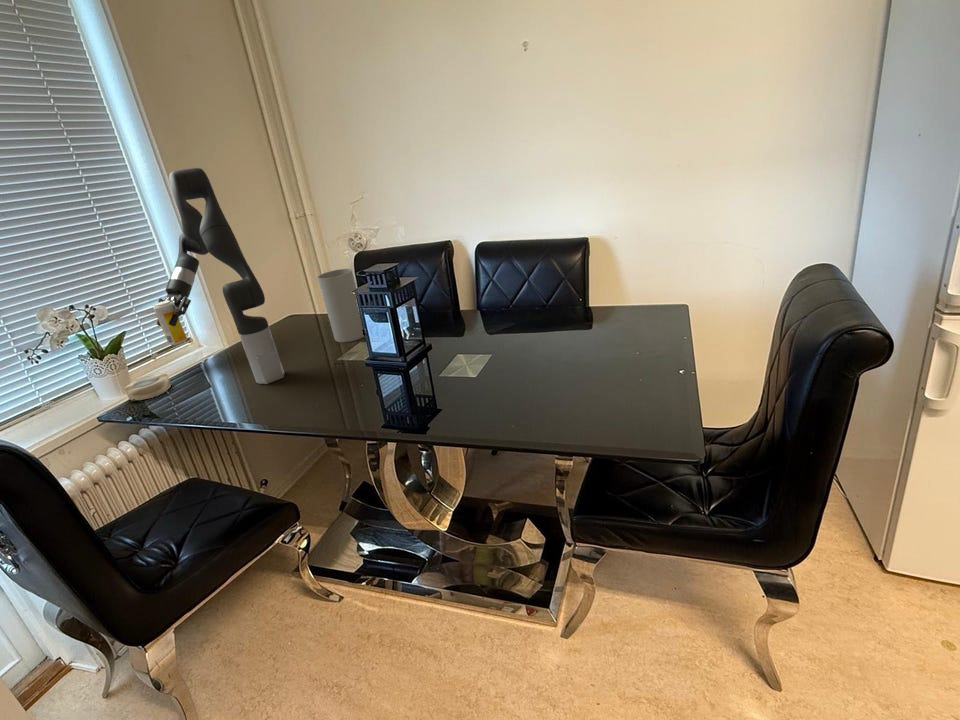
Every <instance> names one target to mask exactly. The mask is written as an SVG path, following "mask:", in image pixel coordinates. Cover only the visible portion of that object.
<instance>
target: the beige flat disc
mask: <svg viewBox="0 0 960 720" xmlns="http://www.w3.org/2000/svg"><path fill="white" fill-rule="evenodd" d="M171 382H172V381H171V380H170V378H169V376H168V374H166V373H156V374H150V375H147V376H144V377H141V378H139V379H136V380H134V381H132V382H130V383H129V384H128V385H126V386H125V387H124V390H125V393H126V395H127V397H128V399H129V401H130V400H133V399H135V400H143V399H148V398H152V397H155V396H157V395H159V394H162V393H164V392H165V391H167V390H168V389H169V388H170V387H171V385H172V386H173V384H172V383H171ZM167 392H168V391H167ZM164 394H165V393H164ZM162 395H163V394H162ZM157 397H158V396H157ZM155 398H156V397H155ZM152 399H153V398H152Z"/></svg>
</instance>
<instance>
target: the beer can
mask: <svg viewBox="0 0 960 720" xmlns="http://www.w3.org/2000/svg"><path fill="white" fill-rule="evenodd" d="M153 311H154V313H155V315H156V318H157V321H158V320H159V323H160V325H161V326H160V328H161V329H162V332H163V335H164V337H165V339H166V342H167V343H168V344H169V345H170V346H177V345H180V344H183V343H184V342H186V341H187V335H186V332H185V330H184V327H183V325H182V323H181V321H180V317H179V318H178V321H177V323H176V326H171V325H169V321H170V320H171V318H172V316H173V315H174V314H173V311H174V308H173V304H172V303H171V302H170V301H163V302H159V303H158V302H157V303H154V304H153Z"/></svg>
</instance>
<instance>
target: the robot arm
mask: <svg viewBox="0 0 960 720" xmlns="http://www.w3.org/2000/svg"><path fill="white" fill-rule="evenodd" d="M168 178H169V184H170V188H171V192H172V195H173V199H174V201H175V205H176V208H177V210H178V213H179V217H180V221H181V229H182V232H181V234H180V235H179V237H178V256H177V260H176V263H175V265H174V268H173V270H172V272H171V274H170V276H169V279H168V283H167V284H166V286H165V287H166V288H165V292H166V293H167V294H166V297H165V298H159V299H158V301H157V303H159V302H163V301H170V302H171V303H172V304H173V308H174V311H173V314H174V315H173V316H172V318H171V320H170V321H169V325H171V326H176V323H177V321H178V318H179V319H180V317H181V316H182V315H183V316H184V315H185V314H186V312H187V311H188V309H189V307H190V304H191V303H192V300H191V299H189V297H190V295H191V291H192V289H193V285H194V283H195V279H196V275H197V271H198V269H199V265H200V261H199V259H198V258H196V257H195V256H193V255H191V254H189V253H188V252H190V253H192V254H197V255H201V256H204V255H205V256H206V255H208V254H210V255H211V256H212V257H214V258H215V259H217V260H218V261H220V262H221V263H222V264H224V265H226V266H228V267H230V269H232V270H234V271H235V272H236V273H237V274H238V275H239V276H240V278H241V279H239V280H237V281H231V282H228V283H225V284H224V285H223V286H222V294H223V297H224V300H225V302H226V305H227V308H228V309H229V311H230V314H231V317H232V319H233V321H234V324H235V327H236V330H237V333H238V336H239V338H240V341H241V344H242V346H243V350H244V353H245V355H246V359H247V360H248V361H247V362H248V364H249V366H250V369H251V371H252V374H253V377H254V380H255V382H256V383H257V384H260V385H261V384H263V385H268V384H270V383H273V382H275V381H278V380H280V379H284V377H285V371H284V367H283V364H282V361H281V358H280V355H279V353H278V350H277V346H276V344H275V340H274V337H273V335H272V331H271V329H270V325H269V322H268V320H267V318H266V317H264V316H251V315H247V314H244V311H247V310H251V309H254V308H257V307H261V306H262V305H264V304H265V301H266V299H265V293H264V291H263V289H262V286H261V284H260V283H259V281H258V279H257V278H256V276H255V274H254V272H253V270H252V268H251V267H250V265H249V263H248V262H247V260H246V258H245V256H244V253H243V251H242V249H241V247H240V245H239V242H238V240H237V238H236V235H235V234H234V231H233V229H232V228H231V226H230V224H229V222H228V220H227V218H226V216H225V214H224V213H223V209H222V208H221V205H220V204H219V201H218V199H217V196H216V194H215V191H214V189H213V186H212V183H211V181H210V179H209V177H208V175H207V173H206V172H205V170H204V169H203V168H200V167H193V168H186V169H185V168H183V169H177V170H173V171H171V172H170V174H169V177H168ZM197 199H204V201H205V205H204V206H205V207H204V212H203V214H202V212H200V211H199V210H198V209H197V208H196V207H194V206H193V205H192V204H190V203H189V202H188V201H190V200H197ZM156 321H157V322H156V325H157V326H159V327H161V325H160V323H159V320H158V319H157V320H156Z"/></svg>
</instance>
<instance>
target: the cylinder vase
mask: <svg viewBox="0 0 960 720" xmlns="http://www.w3.org/2000/svg"><path fill="white" fill-rule="evenodd" d="M316 279H317V282H318V284H319V285H318V286H319V289H320V292H321V296H322V299H323V302H324V306H325V309H326V310H325V311H326V313H327V316H328V320H329V322H330V328H331V330H332V334H333V337H334V341H335V342H337V343H341V344H342V343H344V344H345V343H352V342H355V341H358V340H361V339H362V338H364V337H365V336H364V335H363V331H362V326H361V319H360V314H359V311H358V307H357V302H356V296H355V294H353V293H351V292H352V291H354V290H355V289H357V285H356V280H355V278H354V273H353V271H352V268H341V269H335V270H330V271H326V272H324V273H322V274H319V275H317V276H316Z"/></svg>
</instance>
